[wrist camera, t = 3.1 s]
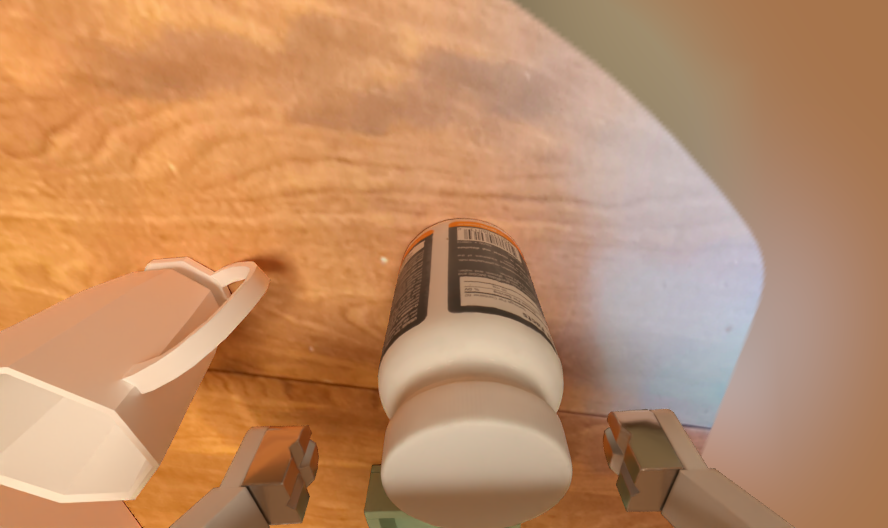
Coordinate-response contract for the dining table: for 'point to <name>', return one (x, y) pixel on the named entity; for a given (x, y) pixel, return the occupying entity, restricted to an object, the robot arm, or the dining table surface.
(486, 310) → the pill bottle
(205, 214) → the dining table surface
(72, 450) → the cup
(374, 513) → the bottle tray
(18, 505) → the hammer embossed box
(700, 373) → the dining table surface
